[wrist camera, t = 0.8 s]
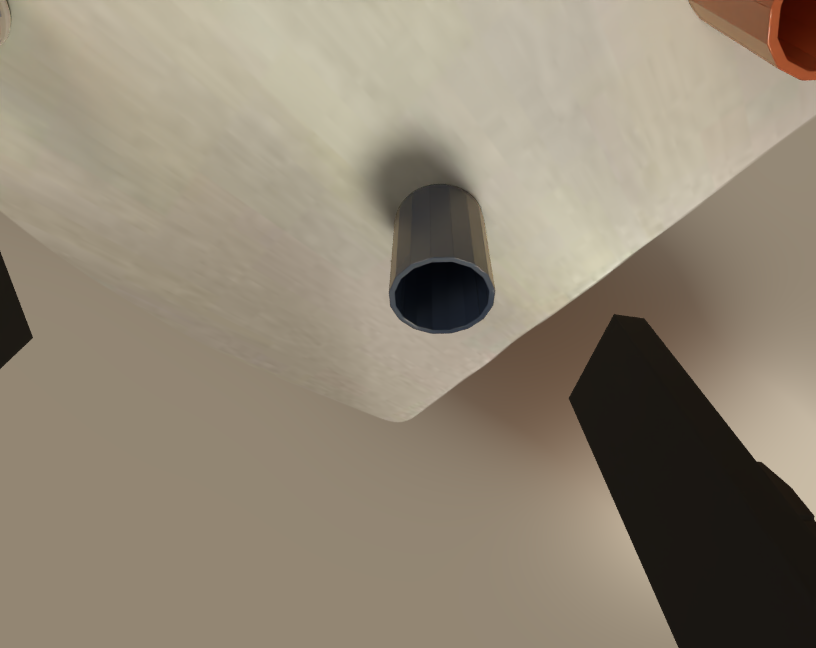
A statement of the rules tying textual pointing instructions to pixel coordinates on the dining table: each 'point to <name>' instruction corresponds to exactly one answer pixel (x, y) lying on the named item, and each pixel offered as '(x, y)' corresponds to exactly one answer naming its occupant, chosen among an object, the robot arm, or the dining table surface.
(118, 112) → the dining table surface
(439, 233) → the cup
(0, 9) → the pill bottle
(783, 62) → the orange cup
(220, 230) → the dining table surface
